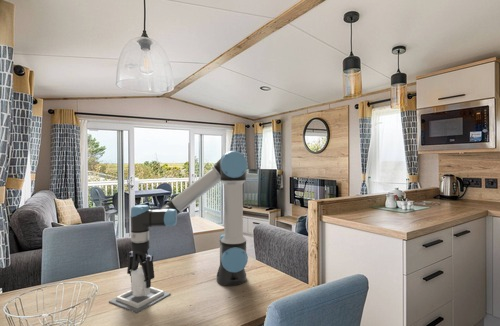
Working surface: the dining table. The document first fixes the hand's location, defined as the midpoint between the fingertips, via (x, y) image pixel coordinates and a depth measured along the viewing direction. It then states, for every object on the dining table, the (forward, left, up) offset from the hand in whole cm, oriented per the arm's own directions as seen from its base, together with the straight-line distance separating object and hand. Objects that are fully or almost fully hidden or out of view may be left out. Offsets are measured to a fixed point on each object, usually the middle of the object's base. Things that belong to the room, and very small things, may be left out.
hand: (140, 292), depth 123 cm
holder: (0, 0, -3) cm, 3 cm away
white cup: (0, 0, -1) cm, 1 cm away
